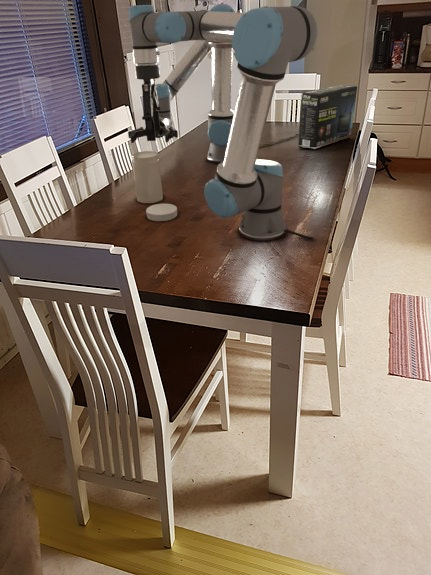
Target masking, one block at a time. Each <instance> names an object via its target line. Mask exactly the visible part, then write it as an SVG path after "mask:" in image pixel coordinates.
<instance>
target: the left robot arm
mask: <svg viewBox="0 0 431 575" xmlns="http://www.w3.org/2000/svg"><path fill="white" fill-rule="evenodd" d="M209 11H214V12H236V11H235V10H234V8H233V7H232V6H231V5H229V4H227V3H217V4H216V5H214V6H212V7H211V8H210V10H209ZM210 52H211V109H210V110H209V111H208V113H207V130H206V131H207V138H208V140H209V141H210V142H209V147H208V152H207V155H206V158H207V159H206V160H207V162H210V163H213V164H220V163H222V162H224V159H225V154H226V149H227V144H228V139H229V135H230V130H231V125H232V120H233V115H234V111H235V110H233V109H232V92H233V91H232V87H233V85H232V84H233V49H232V43H224V42H215V41H203V40H194V42H193V43H192V44H191V46H190V47H189V48H188V49H187V51H186V52H185V53H184V54H183V56H182V57H181V59H179V61H178V62H177V64H176V65H175V67H174V68H173V69H172V70H171V71H170V73H168V75H167V77H166V78H165V79H164V81H163V82H162V83H155V84H156V91H157V98H158V104H159V107H160V108H161V110H157V111H159V121H160V131H155V135H156V139H161V138H163V137H164V138H165V143H169V141H170V140H172V139H173V138H176V139H177V138H179V132H178V130H177V129H175V128H174V127H173V126H172V125H173V123H174V122H173V116H172V112H171V109H172V108H171V102H172V100H173V99H174V97H175V96H177V94H178V93H179V91H180V90H181V89H182V88H183V86H184V85H185V84H186V82H187V81H188V80H189V79H190V77H191V76H192V75H193V74H194V73H195V71H196V70H197V69H198V68H199V66H200V65H201V64H202V63H203V61H204V60H205V59H206V58H207V57H208V55H209V54H210ZM127 136H128V139H130V142H131V143H130V144H134V143H135V142H136V141H137V140H138V139H139V138H143V137H147V135H146V127H143V126H140V127H139V128H135V129H132V130H129V131H127Z"/></svg>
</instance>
